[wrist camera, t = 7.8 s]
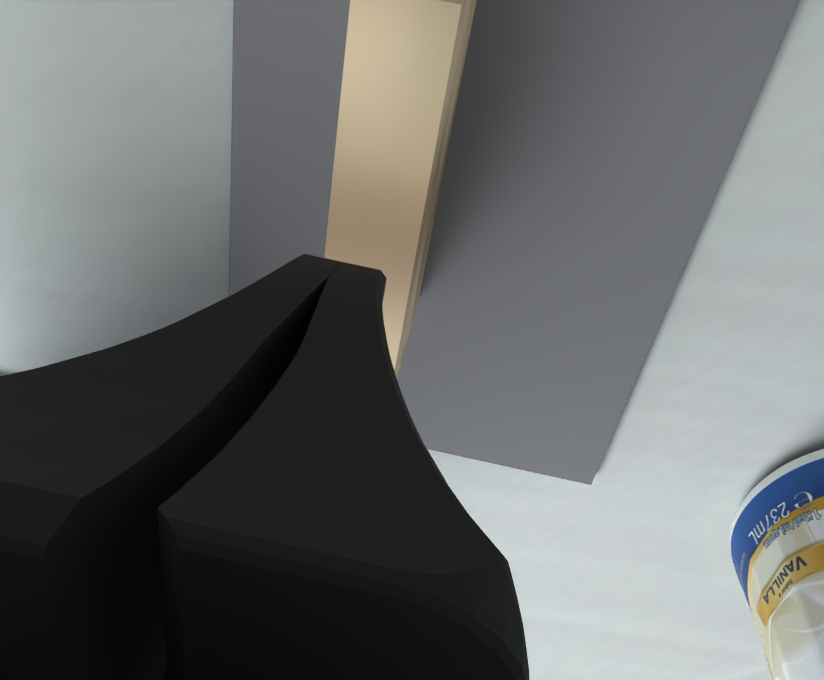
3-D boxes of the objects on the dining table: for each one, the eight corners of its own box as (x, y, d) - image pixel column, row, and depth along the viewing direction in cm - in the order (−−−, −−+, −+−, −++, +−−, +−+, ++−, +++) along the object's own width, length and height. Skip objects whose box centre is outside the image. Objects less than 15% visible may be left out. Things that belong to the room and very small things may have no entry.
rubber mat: (590, 476, 25) (591, 484, 24) (231, 397, 25) (227, 405, 25) (874, -194, 14) (883, -197, 14) (245, -313, 14) (238, -317, 14)
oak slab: (418, 298, 21) (384, 425, 16) (361, 286, 21) (309, 408, 16) (482, -32, 16) (461, 4, 11) (406, -47, 16) (351, -18, 11)
